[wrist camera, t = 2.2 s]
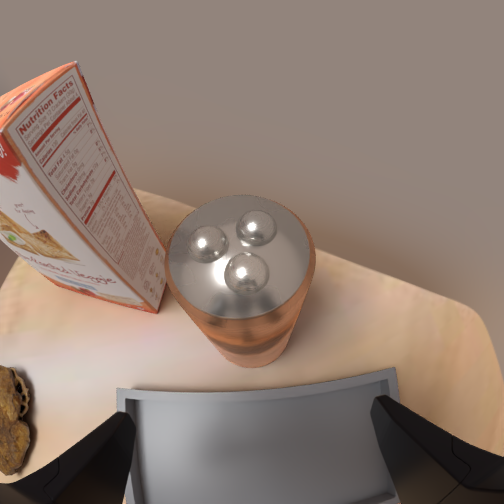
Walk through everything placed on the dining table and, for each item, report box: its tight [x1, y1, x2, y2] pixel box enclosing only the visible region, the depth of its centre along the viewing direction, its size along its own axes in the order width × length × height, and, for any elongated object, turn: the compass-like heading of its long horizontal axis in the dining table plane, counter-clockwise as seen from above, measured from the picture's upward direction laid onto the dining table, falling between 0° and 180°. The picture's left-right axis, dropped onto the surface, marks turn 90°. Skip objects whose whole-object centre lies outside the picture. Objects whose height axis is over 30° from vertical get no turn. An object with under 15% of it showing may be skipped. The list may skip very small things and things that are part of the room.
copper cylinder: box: [164, 195, 316, 368], centre depth 17 cm, size 6×6×14 cm
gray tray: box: [117, 367, 400, 504], centre depth 16 cm, size 13×22×2 cm, turn 94°
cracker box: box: [0, 61, 167, 314], centre depth 17 cm, size 14×6×21 cm, turn 80°
